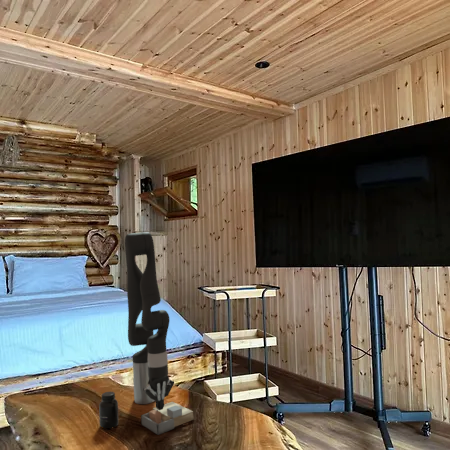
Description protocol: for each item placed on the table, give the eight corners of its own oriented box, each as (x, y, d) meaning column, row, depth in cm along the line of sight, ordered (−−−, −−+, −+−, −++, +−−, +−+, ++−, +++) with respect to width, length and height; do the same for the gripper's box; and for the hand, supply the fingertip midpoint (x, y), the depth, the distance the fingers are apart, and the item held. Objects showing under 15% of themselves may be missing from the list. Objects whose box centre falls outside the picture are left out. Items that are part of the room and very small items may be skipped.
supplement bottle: (99, 431, 153) (98, 398, 153) (100, 423, 160) (98, 392, 160) (118, 427, 155) (117, 395, 155) (118, 420, 161) (117, 389, 162)
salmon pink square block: (155, 420, 158) (149, 422, 156) (154, 409, 158) (149, 411, 157) (161, 423, 155) (155, 425, 154) (160, 412, 156) (155, 414, 154)
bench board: (153, 416, 164) (152, 408, 164) (172, 408, 169) (172, 401, 170) (173, 427, 152) (172, 419, 153) (193, 419, 158) (193, 411, 158)
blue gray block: (167, 415, 156) (166, 408, 156) (176, 412, 159) (175, 405, 159) (173, 418, 153) (172, 411, 153) (182, 414, 156) (181, 408, 156)
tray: (141, 424, 156) (141, 415, 157) (157, 418, 161) (157, 409, 161) (157, 434, 147) (157, 424, 147) (174, 428, 152) (173, 418, 152)
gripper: (167, 357, 166) (169, 401, 165) (137, 365, 157) (139, 411, 157) (177, 361, 160) (180, 406, 159) (147, 369, 151) (149, 417, 151)
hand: (160, 409), depth 158 cm, fingers closed
